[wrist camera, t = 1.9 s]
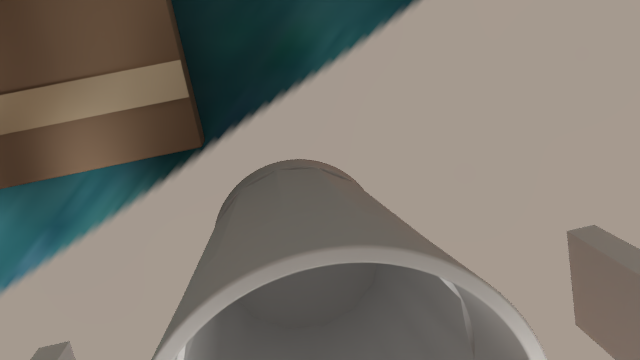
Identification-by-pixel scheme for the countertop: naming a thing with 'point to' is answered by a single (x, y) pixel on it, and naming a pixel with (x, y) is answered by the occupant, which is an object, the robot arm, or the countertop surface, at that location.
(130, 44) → the striped wooden coaster
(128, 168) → the countertop surface
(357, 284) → the cup
